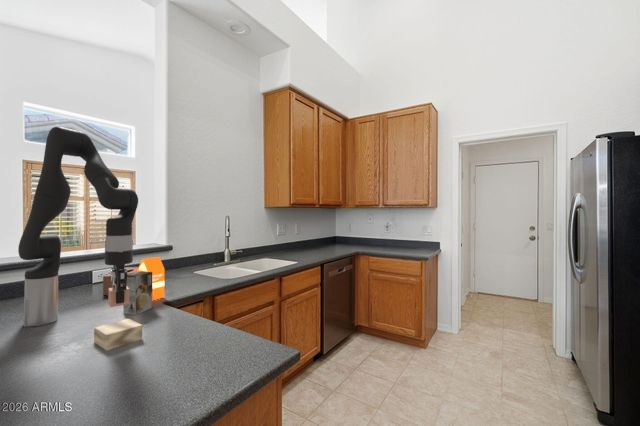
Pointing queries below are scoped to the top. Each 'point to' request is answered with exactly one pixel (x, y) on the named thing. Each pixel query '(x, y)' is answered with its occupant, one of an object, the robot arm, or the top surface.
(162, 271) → the orange juice
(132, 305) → the coffee box
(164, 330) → the top surface
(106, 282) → the tissue box cover
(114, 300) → the terracotta cube
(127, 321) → the birch block
